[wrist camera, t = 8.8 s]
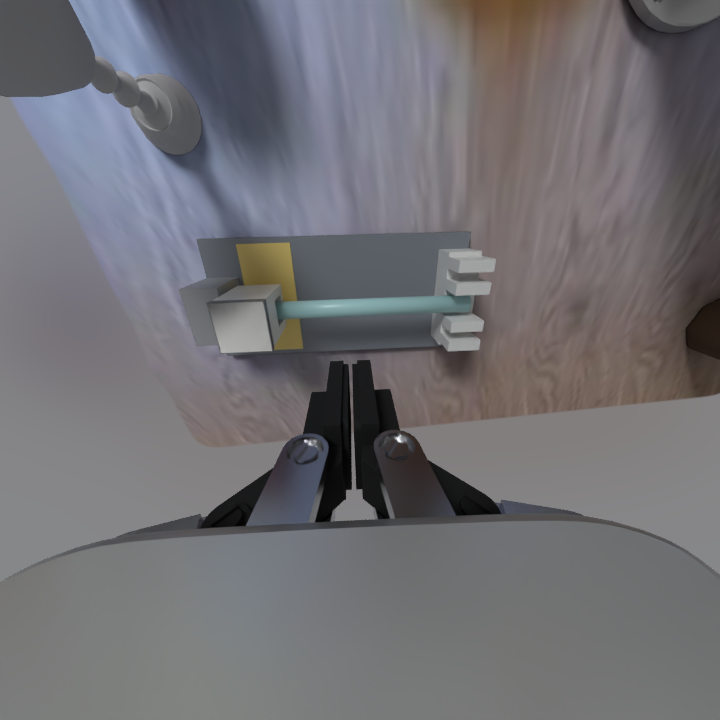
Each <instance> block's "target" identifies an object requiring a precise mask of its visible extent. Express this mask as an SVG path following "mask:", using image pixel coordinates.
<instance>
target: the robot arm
mask: <svg viewBox="0 0 720 720" xmlns="http://www.w3.org/2000/svg"><path fill="white" fill-rule="evenodd" d="M629 2H630V4H631V6H632V8H633V9H634V11H635V13H636V15H637V16H638V17H639V18H640V19H641V20H642V21H643V22H644V23H645V24H646V25H647V26H649V27H651V28H653V29H655V30H657V31H660V32H667V33H678V32H686V31H689V30H692V29H694V28H697V27H700V26H702V25H704V24H706V23H708V22H710V21H711V20H713V19H715V18H717V17H719V16H720V0H629ZM352 369H353V413H354V442H355V464H356V465H355V466H356V488H357V489H362V490H363V499H364V500H365V501H367V502H368V503H369V504H370V505H371V506H373V507H374V508H373V509H374V516H375V520H355V521H334V519H335V508H336V507H337V506H338V505H339V504H340V503H341V502H342V501H343V500H346V490H351V489H352V481H351V480H352V472H351V408H350V387H349V367H348V364H344V363H343V361H330V368H329V376H328V383H327V391H326V392H312V394H311V398H310V403H309V408H308V413H307V417H306V422H305V427H304V432H303V434H302V435H298V436H296V437H294V438H292V439H291V440H290V441H288V442H287V443H286V444H285V446H284V447H283V449H282V451H281V453H280V455H279V457H278V459H277V462H276V464H275V466H274V468H272V469H271V470H270V471H268V472H267V473H265V474H264V475H263V476H261V477H259V478H258V479H257V480H255V481H254V482H252V483H251V484H249V485H248V486H246V487H245V488H244V489H242V490H241V491H239V492H238V493H237V494H235V495H233V496H232V497H231V498H229V499H228V500H226V501H225V502H223V503H222V504H221V505H219V506H218V507H216V508H215V509H214V510H213V511H212V512H211V513H210V514H209V515H208V516H206V517H201V514H198V515H195V516H190V517H186V518H182V519H178V520H175V521H171V522H167V523H163V524H159V525H155V526H151V527H147V528H143V529H139V530H136V531H132V532H128V533H125V534H123V535H120V536H118V537H116V538H112V539H107V540H102V541H99V542H95V543H91V544H88V545H84V546H80V547H77V548H74V549H71V550H69V551H66V552H63V553H61V554H58V555H55V556H52V557H50V558H47V559H44V560H42V561H40V562H37V563H35V564H33V565H31V566H29V567H27V568H25V569H23V570H21V571H19V572H17V573H15V574H13V575H11V576H9V577H8V578H6V579H5V580H3V581H1V582H0V720H720V575H719V574H718V573H717V572H716V571H714V570H713V569H712V568H711V567H709V566H708V565H706V564H705V563H704V562H703V561H701V560H700V559H699V558H697V557H696V556H694V555H693V554H691V553H690V552H689V551H687V550H685V549H684V548H682V547H680V546H678V545H676V544H674V543H673V542H671V541H668V540H666V539H664V538H661V537H659V536H657V535H654V534H652V533H649V532H646V531H644V530H640V529H637V528H634V527H630V526H627V525H623V524H620V523H617V522H613V521H609V520H603V519H598V518H592V517H587V516H583V515H581V514H578V513H575V512H572V511H567V510H561V509H555V508H549V507H543V506H537V505H531V504H525V503H518V502H513V501H506V500H501V503H495V502H493V501H492V499H490V498H489V497H488V496H486V495H485V494H483V493H482V492H480V491H479V490H477V489H475V488H474V487H472V486H470V485H469V484H467V483H465V482H464V481H462V480H460V479H459V478H457V477H455V476H454V475H452V474H450V473H449V472H447V471H445V470H444V469H442V468H440V467H439V466H437V465H435V464H434V463H432V462H430V461H429V460H427V458H426V456H425V454H424V452H423V450H422V448H421V446H420V444H419V442H418V441H417V439H416V438H415V437H414V436H412V435H411V434H409V433H407V432H405V431H400V429H399V425H398V420H397V416H396V412H395V408H394V403H393V399H392V395H391V391H390V389H382V390H374V384H373V377H372V370H371V363H370V360H357V364H352Z"/></svg>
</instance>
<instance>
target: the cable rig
mask: <svg viewBox="0 0 720 720" xmlns="http://www.w3.org/2000/svg"><path fill="white" fill-rule="evenodd" d="M470 236H471V232H436V233H399V234H363V235H326V236H289V237H253V238H216V239H197V243H198V247H199V251H200V254H201V258H202V262H203V265H204V269H205V273H206V277H207V278H206V279H204V280H201V281H199V282H196V283H194V284H191V285H189V286H186V287H184V288H181V289H179V292H180V295H181V299H182V302H183V305H184V308H185V311H186V314H187V317H188V320H189V323H190V327H191V330H192V333H193V336H194V339H195V342H196V345H197V346H205V345H218V342H217V338H216V335H215V331H214V328H213V324H212V321H211V317H210V313H209V310H208V306H207V302H209V301H213V300H214V299H216V298H218V297H219V296H221V295H223V294H224V293H226V292H228V291H230V290H231V289H233V288H235V287H236V286H240V285H269V284H281V289H282V296H283V302H275V306H276V312H277V318H278V319H286V322H287V325H286V327H285V328H284V330H283V332H282V334H281V336H280V338H279V339H278V341H277V343H276V345H275V347H274V348H275V349H274V350H273V351H271V352H249V353H228V354H227V355H228V356H235V355H257V354H278V353H300V352H321V351H343V350H364V349H386V348H407V347H429V346H444V347H445V349H446V350H447V351H468V350H479V346H480V339H478V338H477V337H476V336H475V335H474V334H472V333H471V332H478V331H482V330H483V325H484V320H482V319H481V318H479V317H478V316H476V315H475V314H473V313H472V309H473V303H474V297H475V295H489V293H490V288H491V282H488V281H486V280H483V279H481V278H478V273H479V272H494V267H495V262H496V259H493V258H489V257H485V256H481V255H482V251H479V250H474V249H469V243H470Z"/></svg>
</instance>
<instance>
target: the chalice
mask: <svg viewBox="0 0 720 720" xmlns="http://www.w3.org/2000/svg"><path fill="white" fill-rule="evenodd" d="M89 83H92V84H93V86H94V87H95V88H96V89H97V90H99V91H100V92H102V93H106V94H109V93H112V94H113V96H114V97H115V99H116V100H117V101H118V102H119V103H120V104H121V105H123V106H125V107H129V109H130V111H131V114H132V116H133V118H134V120H135V121H136V123H137V124H138V126H139V127H140V129H141V130H142V131H143V133H144V134H145V136H146V138H147V139H148V140H149V141H150V142H151V143H152V144H153V145H154V146H155V147H157V148H159V149H160V150H162V151H164V152H165V153H169V154H173V155H183V154H187V153H188V152H190V151H192V150H193V149H194V148H195V146H196V145H197V144H198V142H199V139H200V136H201V132H202V126H201V116H200V113H199V109H198V106H197V104H196V102H195V101H194V99H193V97H192V95H191V94H190V92H189V91H188V90H187V89H186V88H185V87H184V86H183V85H182V84H181V83H180V82H178V81H177V80H175V79H174V78H172V77H170V76H167V75H164V74H160V73H159V74H145V75H139V76H137V77H136V78H133V77H132V76H131V75H130V74H128V73H126V72H123V71H117V72H116V71H115V69H114V68H113V66H112V65H111V64H110V63H109V62H108V61H107V60H106V59H104V58H103V57H99V56H95V54H94V51H93V48H92V45H91V43H90V41H89V39H88V37H87V35H86V33H85V31H84V29H83V27H82V25H81V23H80V21H79V19H78V17H77V16H76V14H75V12H74V10H73V8H72V6H71V4H70V2H69V0H0V95H1V96H5V97H43V96H50V95H56V94H61V93H65V92H68V91H72V90H76V89H80V88H84V87H85V86H87V85H88V84H89Z"/></svg>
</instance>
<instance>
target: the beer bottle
mask: <svg viewBox="0 0 720 720" xmlns="http://www.w3.org/2000/svg"><path fill="white" fill-rule="evenodd" d="M686 333H687V346H688V347H689V348H691V349H693V350H696V351H698V352H701V353H703V354H706V355H708V356H711V357H714V358H717V359H720V299H718V300H716V301H714V302H712V303H710V304H708V305H706V306H704V307H703V308H702V309H701V310H700V311H699V313H698V314H697V315H696V317H695V318H694V319H693V320H692V322H691V323H690V324H689V326H688V327H687V328H686Z"/></svg>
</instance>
